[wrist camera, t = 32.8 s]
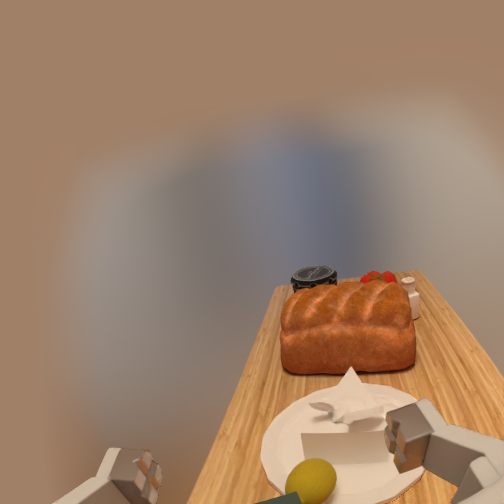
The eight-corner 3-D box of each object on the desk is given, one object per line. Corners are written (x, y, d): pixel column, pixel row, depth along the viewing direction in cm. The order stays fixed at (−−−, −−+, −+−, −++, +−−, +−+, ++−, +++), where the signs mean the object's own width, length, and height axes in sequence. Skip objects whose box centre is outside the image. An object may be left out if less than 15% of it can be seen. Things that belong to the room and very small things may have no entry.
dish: (442, 503, 21) (468, 449, 19) (238, 505, 29) (213, 455, 27) (423, 382, 44) (428, 325, 41) (282, 391, 52) (272, 339, 50)
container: (343, 313, 77) (339, 276, 75) (293, 319, 80) (287, 283, 78) (339, 294, 89) (335, 261, 87) (296, 300, 92) (290, 268, 90)
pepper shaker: (406, 323, 64) (405, 284, 62) (397, 316, 68) (396, 279, 66) (420, 318, 64) (420, 280, 62) (411, 311, 68) (410, 275, 66)
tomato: (352, 304, 80) (349, 278, 79) (374, 289, 86) (372, 265, 84) (385, 312, 71) (384, 284, 70) (405, 295, 77) (405, 269, 75)
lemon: (328, 485, 30) (307, 525, 23) (293, 465, 33) (265, 502, 26) (352, 460, 29) (334, 502, 22) (313, 439, 32) (288, 478, 24)
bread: (417, 372, 47) (420, 293, 43) (277, 376, 57) (262, 304, 54) (411, 333, 59) (411, 265, 56) (294, 340, 69) (283, 276, 66)
